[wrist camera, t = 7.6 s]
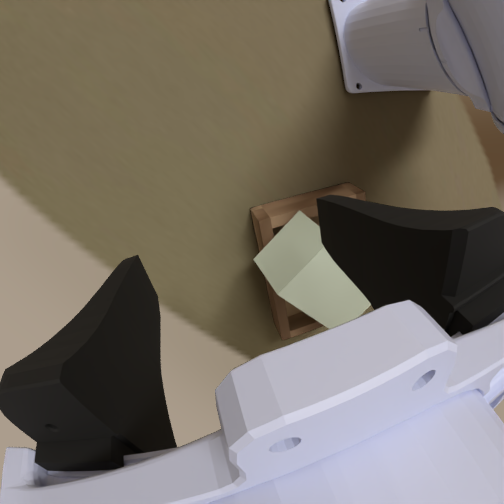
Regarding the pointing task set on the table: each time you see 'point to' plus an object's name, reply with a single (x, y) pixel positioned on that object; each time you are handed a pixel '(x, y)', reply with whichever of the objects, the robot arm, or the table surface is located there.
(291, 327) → the wooden tray
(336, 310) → the pale green block
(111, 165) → the table surface
